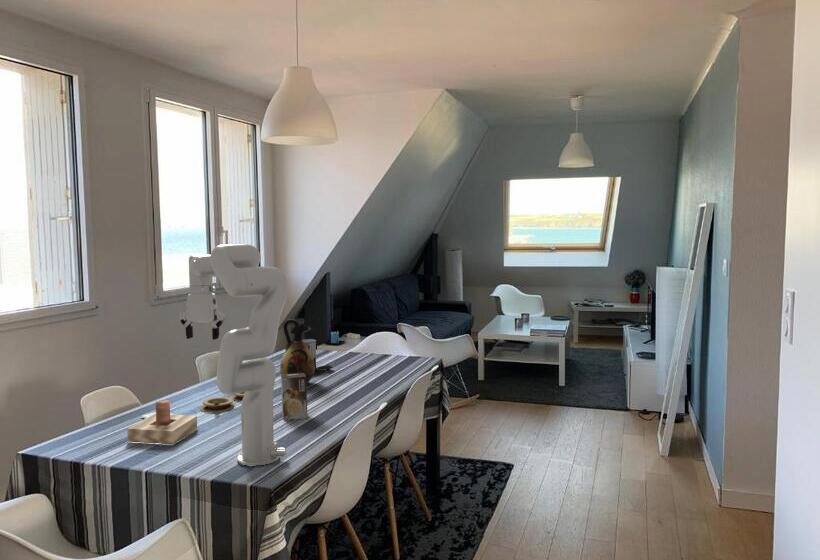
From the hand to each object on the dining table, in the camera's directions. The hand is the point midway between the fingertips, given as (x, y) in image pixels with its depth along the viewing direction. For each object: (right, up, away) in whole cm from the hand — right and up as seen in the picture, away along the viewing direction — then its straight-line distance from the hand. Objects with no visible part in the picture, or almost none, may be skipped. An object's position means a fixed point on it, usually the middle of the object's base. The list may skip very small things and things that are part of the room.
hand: (202, 338), depth 212 cm
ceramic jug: (+21, -27, +61) cm, 70 cm away
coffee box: (+29, -31, +16) cm, 46 cm away
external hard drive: (-20, -32, +14) cm, 40 cm away
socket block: (-11, -33, -5) cm, 35 cm away
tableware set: (+1, -30, +34) cm, 46 cm away
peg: (-11, -33, -5) cm, 35 cm away
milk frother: (+26, -25, +88) cm, 95 cm away
